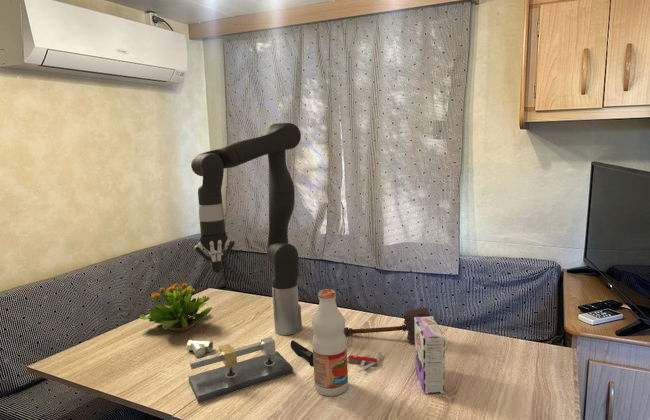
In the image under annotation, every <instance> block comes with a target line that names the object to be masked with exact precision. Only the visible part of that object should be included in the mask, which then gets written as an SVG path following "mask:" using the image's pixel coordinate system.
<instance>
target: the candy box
mask: <svg viewBox="0 0 650 420" xmlns="http://www.w3.org/2000/svg"><path fill="white" fill-rule="evenodd" d="M414 325H415V344H414V361H415V362H414V367H415V368H414V369H415V372H416V374H417V378H418V381H419V384H420V386H421V390H422V393H423V395H442V394H443V395H444V394H445V353H446V352H445V344H446V343H445V342H446V341H445V340H446V339H445V335H444V334H443V332H442V330H441V329H440V326H439V325H438V322H436V319H435V316H433V315H431V316H424V317H414Z"/></svg>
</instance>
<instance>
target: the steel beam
mask: <svg viewBox="0 0 650 420" xmlns="http://www.w3.org/2000/svg"><path fill="white" fill-rule="evenodd" d="M234 349H235V350H236V356H237V358H238V357H241V356H245V355H248V354H252V353H255V352H260V351H261V353H262V354H263V355H265V356H267V358H268V362H271V354H274V353H276V341H275V339H274V338H273V337H271V336H269V337H266V338H265V337H264V338H261V339H260V341H258V342H255V343H251V344H248V345H244V346H241V347H236V348H234ZM221 362H223V355H222V354H221V352H218V353H215V354H211V355H207V356H204V357H203V356H202V357H198V358H197V359H193V360H189V366H190V369H191V370H195V369H198V368H202V367H206V366H210V365H213V364H216V363H221Z"/></svg>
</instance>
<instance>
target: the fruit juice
mask: <svg viewBox="0 0 650 420" xmlns="http://www.w3.org/2000/svg"><path fill="white" fill-rule="evenodd" d="M317 297H318V300H319V301H318V302H319V304H318V308H317V311H316V312H315V314H314V315H313V317H312V320H311V327H312V330H313V337H312V352H313V363H314V367H313V377H314V379H313V380H314V388H315V391H316V392H317V393H318V394H320V395H321V396H327V397H334V396H335V397H336V396H339V395H341V394H344V393H345V392H346V391H347V390H348V387H349V375H348V374H349V373H348V369H349V368H348V360H347V357H348V352H347V351H348V345H347V336H345V334H344V328H345V327H346V320H345V316H344V315H343V313H342V312H340V310H339V308H338V306H337V302H336V298H337V291H336V290H335V289H333V288H332V289H331V288H326V289H321V290H318V292H317Z"/></svg>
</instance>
